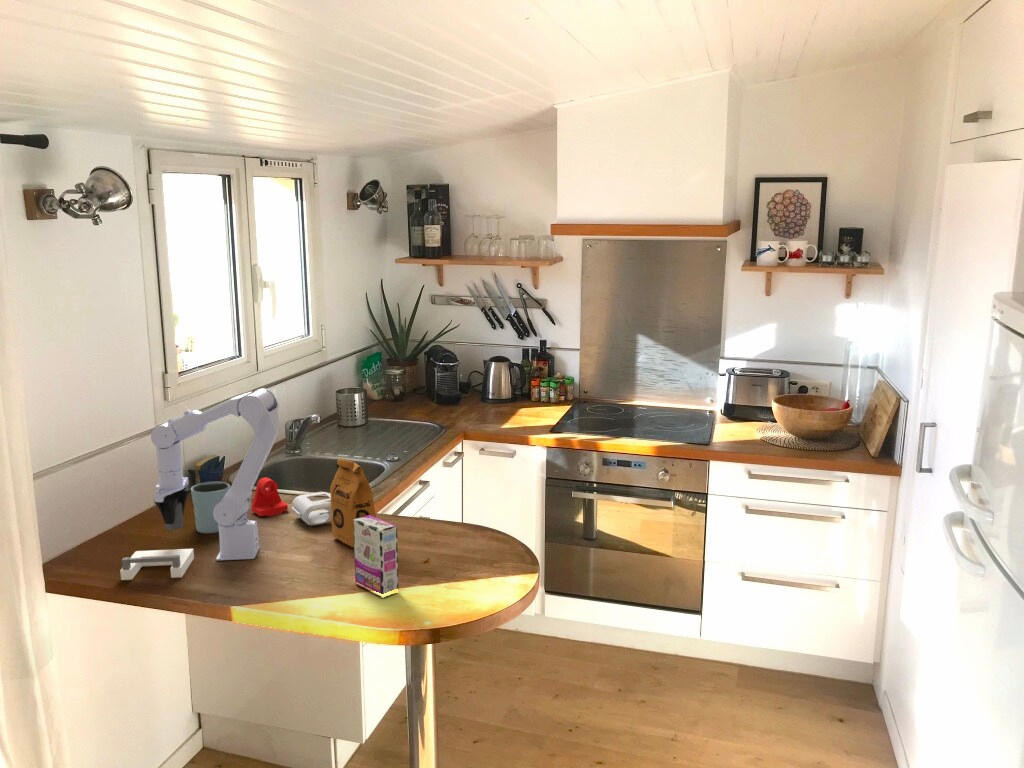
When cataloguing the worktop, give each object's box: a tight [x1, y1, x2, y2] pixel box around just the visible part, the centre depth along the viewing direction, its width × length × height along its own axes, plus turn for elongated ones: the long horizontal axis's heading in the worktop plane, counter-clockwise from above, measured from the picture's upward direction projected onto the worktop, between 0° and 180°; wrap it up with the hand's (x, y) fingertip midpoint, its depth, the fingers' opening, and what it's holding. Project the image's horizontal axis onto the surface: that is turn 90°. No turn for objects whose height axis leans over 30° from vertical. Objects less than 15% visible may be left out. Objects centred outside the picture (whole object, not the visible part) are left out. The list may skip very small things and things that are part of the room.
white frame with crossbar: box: [119, 548, 195, 581], centre depth 209 cm, size 14×12×5 cm
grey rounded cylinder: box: [164, 502, 184, 531], centre depth 218 cm, size 4×4×6 cm
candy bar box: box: [353, 515, 399, 594], centre depth 197 cm, size 11×5×16 cm, turn 45°
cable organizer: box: [290, 491, 331, 526], centre depth 243 cm, size 7×12×12 cm
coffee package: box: [329, 458, 377, 548], centre depth 226 cm, size 10×12×22 cm
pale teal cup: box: [190, 481, 231, 534], centre depth 237 cm, size 10×10×12 cm
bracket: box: [251, 477, 289, 518], centre depth 249 cm, size 9×6×10 cm
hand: (174, 520), depth 218 cm, fingers closed on grey rounded cylinder, 4 cm apart
